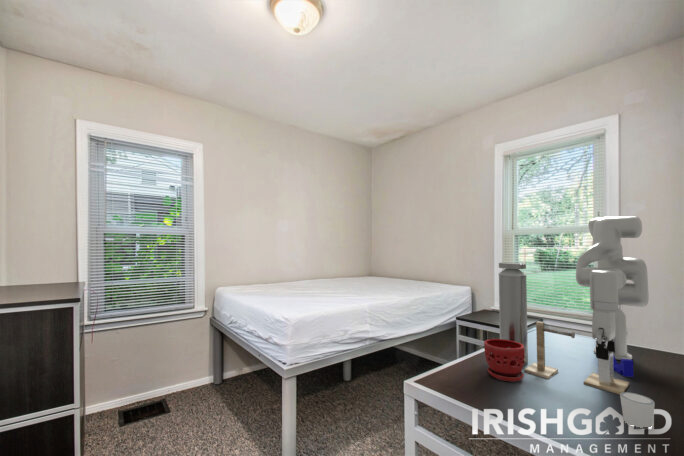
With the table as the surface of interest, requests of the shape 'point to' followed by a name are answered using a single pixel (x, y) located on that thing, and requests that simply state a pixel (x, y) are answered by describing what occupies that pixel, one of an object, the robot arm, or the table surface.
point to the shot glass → (637, 409)
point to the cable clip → (624, 367)
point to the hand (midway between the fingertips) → (605, 355)
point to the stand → (543, 353)
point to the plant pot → (505, 359)
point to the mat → (615, 386)
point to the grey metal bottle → (513, 304)
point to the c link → (606, 369)
